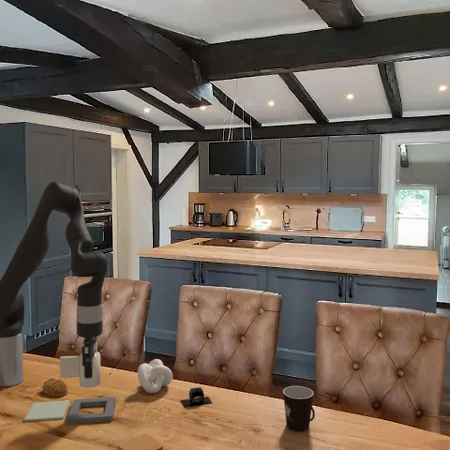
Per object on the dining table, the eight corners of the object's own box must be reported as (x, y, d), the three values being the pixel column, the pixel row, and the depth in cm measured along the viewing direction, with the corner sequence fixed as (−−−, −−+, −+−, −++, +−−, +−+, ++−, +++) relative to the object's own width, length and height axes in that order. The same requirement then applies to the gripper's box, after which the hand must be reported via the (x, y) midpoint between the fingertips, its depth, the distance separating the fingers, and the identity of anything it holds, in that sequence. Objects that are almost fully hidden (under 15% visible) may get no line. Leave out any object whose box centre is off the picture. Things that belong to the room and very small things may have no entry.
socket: (66, 424, 135) (66, 419, 135) (74, 404, 148) (73, 399, 148) (112, 420, 137) (112, 415, 137) (116, 401, 150) (115, 396, 150)
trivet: (24, 421, 137) (24, 419, 137) (33, 404, 148) (33, 402, 148) (63, 418, 138) (63, 416, 138) (69, 402, 149) (69, 400, 149)
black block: (179, 411, 144) (179, 396, 144) (175, 401, 151) (174, 387, 151) (218, 405, 148) (218, 391, 148) (212, 396, 155) (212, 382, 155)
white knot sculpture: (155, 399, 151) (154, 372, 151) (127, 391, 157) (127, 365, 157) (176, 387, 161) (176, 361, 160) (150, 380, 167) (149, 355, 166)
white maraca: (101, 379, 145) (101, 350, 144) (99, 387, 139) (98, 357, 138) (62, 380, 143) (62, 352, 143) (58, 389, 138) (58, 359, 137)
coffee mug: (281, 418, 139) (281, 385, 138) (310, 419, 138) (311, 386, 138) (285, 439, 127) (285, 403, 126) (317, 439, 127) (317, 404, 126)
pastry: (73, 393, 157) (72, 382, 156) (54, 400, 151) (54, 388, 151) (58, 385, 163) (57, 375, 162) (39, 392, 158) (39, 381, 157)
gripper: (99, 325, 134) (99, 382, 135) (105, 312, 148) (105, 364, 149) (72, 326, 133) (72, 383, 134) (80, 312, 147) (81, 365, 148)
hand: (90, 373), depth 141 cm, fingers closed on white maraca, 6 cm apart
